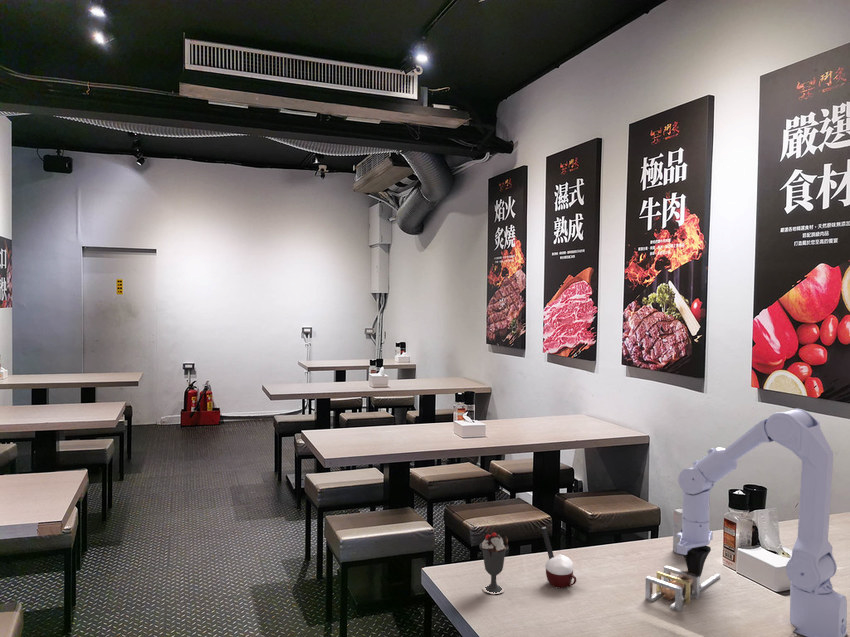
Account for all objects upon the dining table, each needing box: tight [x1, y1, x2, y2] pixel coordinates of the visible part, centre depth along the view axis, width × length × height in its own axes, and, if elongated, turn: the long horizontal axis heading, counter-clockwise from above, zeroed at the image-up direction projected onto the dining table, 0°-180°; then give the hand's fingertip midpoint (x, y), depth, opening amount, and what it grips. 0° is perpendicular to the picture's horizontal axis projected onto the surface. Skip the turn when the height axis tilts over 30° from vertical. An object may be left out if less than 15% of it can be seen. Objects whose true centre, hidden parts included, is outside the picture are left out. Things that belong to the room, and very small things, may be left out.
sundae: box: [479, 525, 509, 593], centre depth 139 cm, size 7×7×15 cm
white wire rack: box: [645, 565, 721, 612], centre depth 139 cm, size 8×24×6 cm, turn 133°
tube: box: [660, 569, 694, 601], centre depth 138 cm, size 12×3×3 cm, turn 134°
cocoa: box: [541, 526, 577, 589], centre depth 143 cm, size 10×6×12 cm, turn 18°
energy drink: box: [672, 507, 684, 557], centre depth 160 cm, size 5×5×12 cm
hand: (694, 577), depth 142 cm, fingers closed
